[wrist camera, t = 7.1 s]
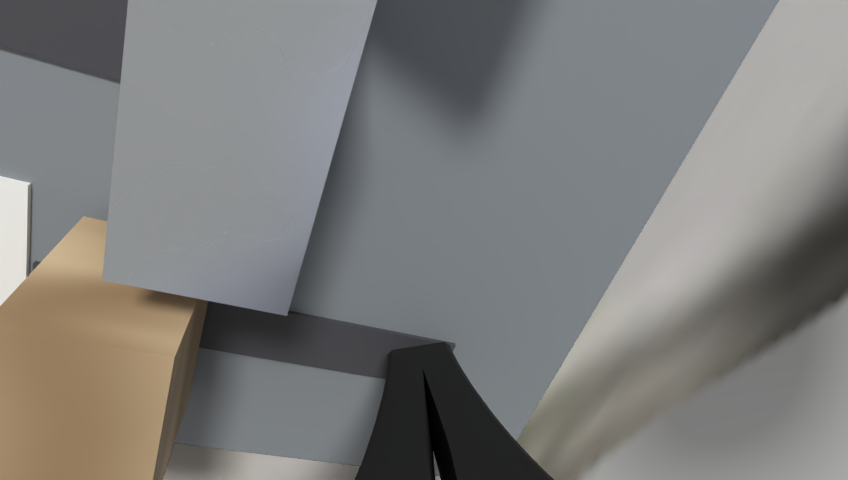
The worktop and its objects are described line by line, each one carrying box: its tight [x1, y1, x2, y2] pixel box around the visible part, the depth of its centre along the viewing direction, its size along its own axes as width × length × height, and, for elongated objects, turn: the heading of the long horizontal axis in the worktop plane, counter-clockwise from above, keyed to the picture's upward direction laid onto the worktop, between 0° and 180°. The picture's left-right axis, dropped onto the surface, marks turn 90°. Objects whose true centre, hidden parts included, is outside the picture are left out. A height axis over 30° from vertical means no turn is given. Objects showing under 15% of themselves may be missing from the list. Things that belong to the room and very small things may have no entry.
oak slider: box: [0, 216, 208, 480], centre depth 10 cm, size 2×4×3 cm, turn 161°
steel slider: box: [102, 0, 377, 316], centre depth 8 cm, size 2×4×3 cm, turn 161°
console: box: [0, 0, 779, 476], centre depth 10 cm, size 14×19×3 cm
